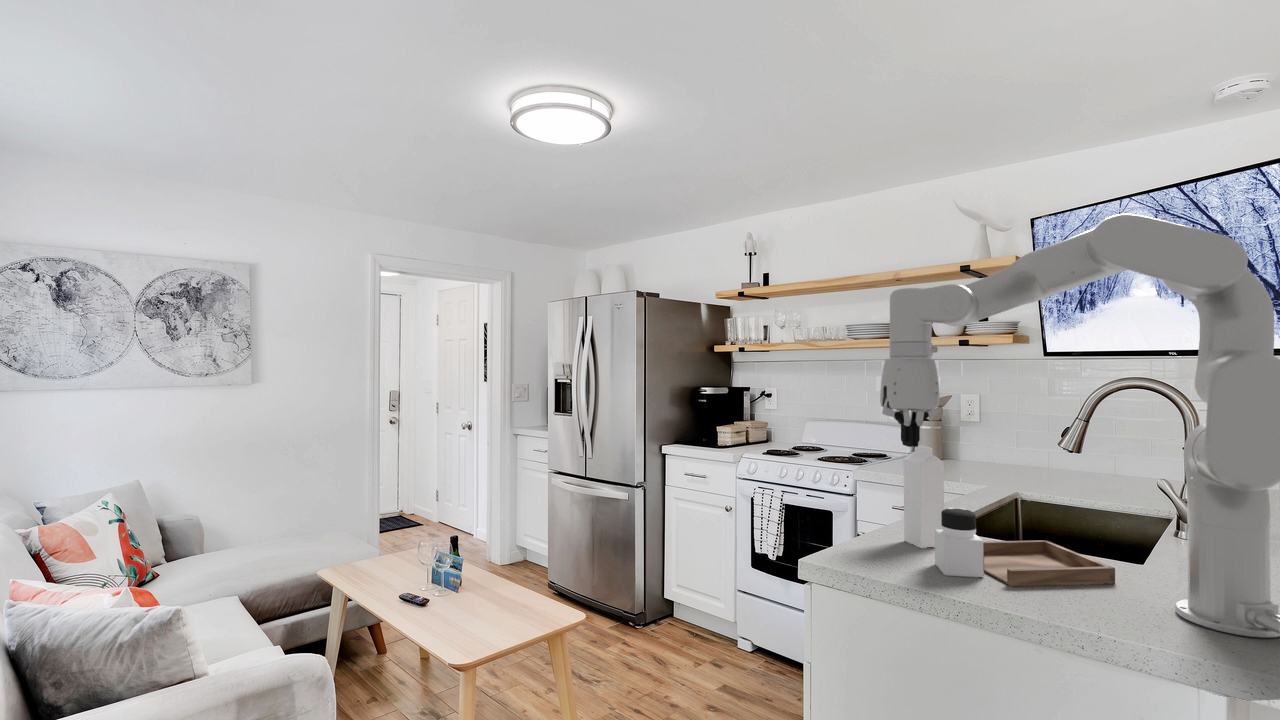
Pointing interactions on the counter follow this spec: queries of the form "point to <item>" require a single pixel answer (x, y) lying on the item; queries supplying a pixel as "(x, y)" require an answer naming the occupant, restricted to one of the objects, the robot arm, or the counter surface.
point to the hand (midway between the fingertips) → (910, 445)
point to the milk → (923, 497)
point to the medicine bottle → (959, 544)
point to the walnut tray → (1042, 564)
